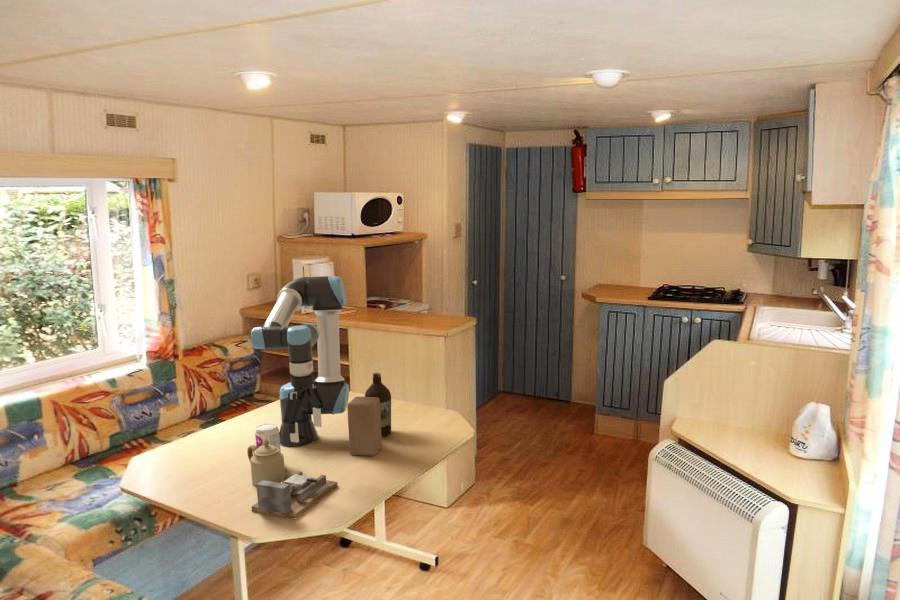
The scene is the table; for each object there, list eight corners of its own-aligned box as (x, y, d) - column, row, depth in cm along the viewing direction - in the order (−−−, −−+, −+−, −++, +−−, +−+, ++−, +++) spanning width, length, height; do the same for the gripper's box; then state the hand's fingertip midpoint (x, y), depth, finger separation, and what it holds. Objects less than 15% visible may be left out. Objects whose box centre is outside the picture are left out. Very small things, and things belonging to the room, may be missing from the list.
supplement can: (260, 473, 238) (257, 432, 235) (255, 465, 245) (252, 425, 243) (283, 468, 241) (281, 428, 239) (278, 460, 249) (275, 421, 246)
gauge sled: (274, 500, 213) (273, 486, 212) (295, 485, 223) (294, 472, 222) (303, 505, 209) (302, 490, 208) (322, 490, 219) (321, 476, 218)
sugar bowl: (235, 485, 228) (231, 443, 226) (251, 472, 239) (248, 431, 237) (276, 488, 225) (273, 445, 223) (290, 474, 236) (287, 433, 234)
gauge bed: (250, 511, 209) (248, 482, 208) (297, 479, 232) (295, 453, 230) (294, 519, 203) (292, 490, 202) (337, 486, 226) (335, 459, 224)
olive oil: (362, 431, 276) (359, 372, 271) (387, 427, 280) (384, 368, 276) (371, 440, 266) (368, 378, 262) (396, 435, 271) (394, 374, 267)
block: (374, 457, 249) (372, 404, 246) (349, 455, 251) (346, 403, 248) (382, 446, 259) (380, 396, 256) (358, 445, 261) (355, 395, 258)
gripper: (289, 385, 210) (294, 450, 214) (332, 363, 232) (336, 421, 236) (269, 383, 212) (274, 446, 217) (313, 361, 235) (317, 419, 239)
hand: (306, 433), depth 227 cm, fingers open, 13 cm apart
